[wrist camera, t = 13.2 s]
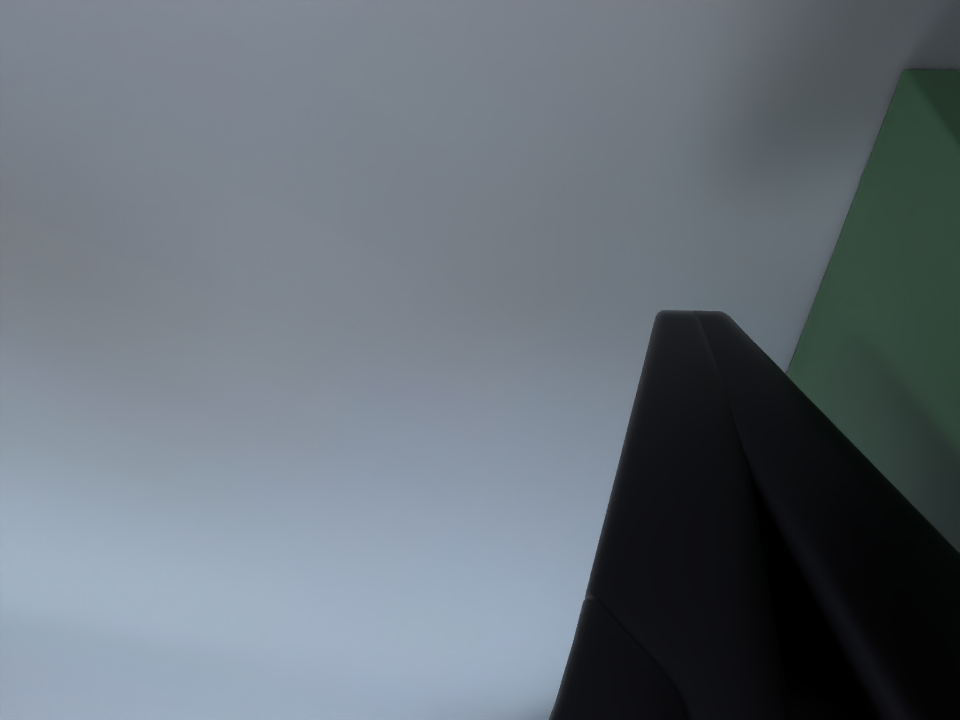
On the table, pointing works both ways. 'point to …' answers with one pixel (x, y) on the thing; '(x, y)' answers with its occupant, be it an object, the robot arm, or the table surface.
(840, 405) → the green block
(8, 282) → the table surface
